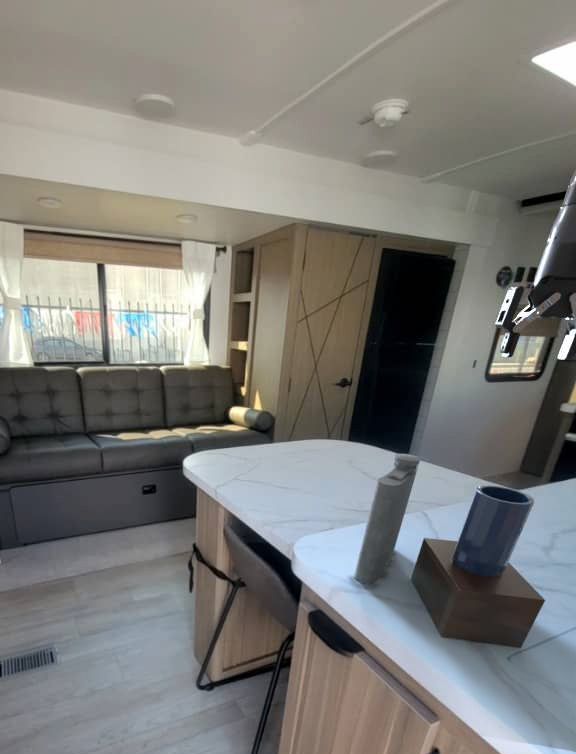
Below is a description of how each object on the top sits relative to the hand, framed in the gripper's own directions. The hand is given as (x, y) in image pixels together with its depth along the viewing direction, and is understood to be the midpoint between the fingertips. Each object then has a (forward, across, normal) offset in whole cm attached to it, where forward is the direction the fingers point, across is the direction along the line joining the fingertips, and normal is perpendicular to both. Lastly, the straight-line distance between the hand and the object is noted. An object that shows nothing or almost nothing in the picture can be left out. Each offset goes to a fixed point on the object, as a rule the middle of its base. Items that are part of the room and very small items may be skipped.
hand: (534, 358), depth 68 cm
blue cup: (+26, -12, -26) cm, 39 cm away
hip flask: (+34, -21, -15) cm, 43 cm away
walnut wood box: (+34, -12, -26) cm, 44 cm away
